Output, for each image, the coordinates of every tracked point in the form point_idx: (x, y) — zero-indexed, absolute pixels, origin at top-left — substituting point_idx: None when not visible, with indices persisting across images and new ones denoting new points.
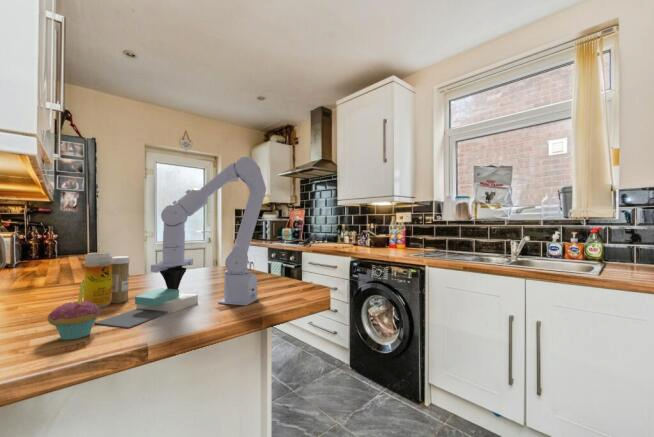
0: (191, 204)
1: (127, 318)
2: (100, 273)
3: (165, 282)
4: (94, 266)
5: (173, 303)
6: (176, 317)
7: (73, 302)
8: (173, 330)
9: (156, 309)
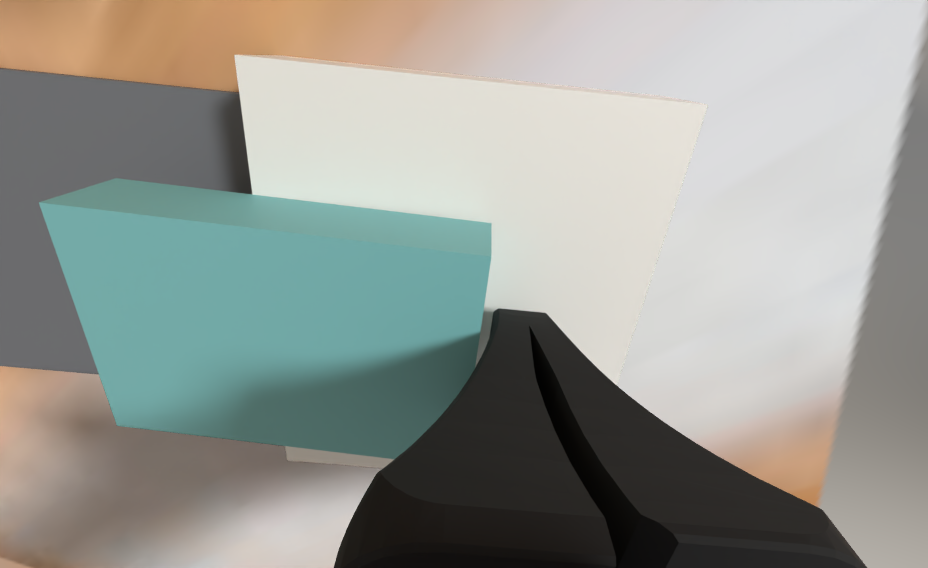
0: None
1: (37, 230)
2: None
3: (474, 371)
4: None
5: (288, 459)
6: (248, 464)
7: None
8: (101, 535)
9: None
